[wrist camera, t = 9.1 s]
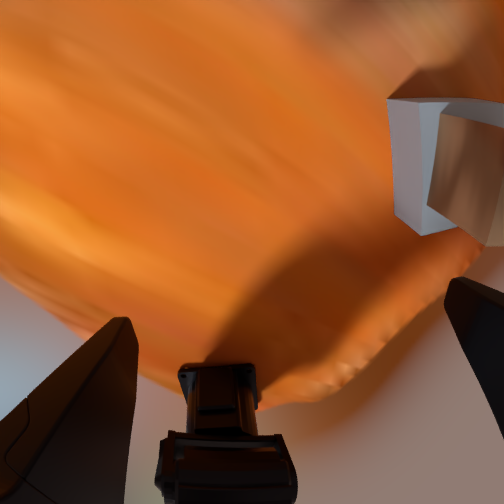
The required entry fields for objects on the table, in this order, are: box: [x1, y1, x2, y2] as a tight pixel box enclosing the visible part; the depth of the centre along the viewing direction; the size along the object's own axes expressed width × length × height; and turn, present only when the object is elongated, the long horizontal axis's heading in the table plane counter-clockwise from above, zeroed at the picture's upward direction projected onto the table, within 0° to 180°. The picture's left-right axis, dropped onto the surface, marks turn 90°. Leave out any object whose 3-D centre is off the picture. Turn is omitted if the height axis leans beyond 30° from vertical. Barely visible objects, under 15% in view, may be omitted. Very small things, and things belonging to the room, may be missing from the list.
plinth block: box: [387, 98, 504, 236], centre depth 18 cm, size 8×8×4 cm
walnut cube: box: [426, 113, 504, 246], centre depth 13 cm, size 6×6×6 cm
